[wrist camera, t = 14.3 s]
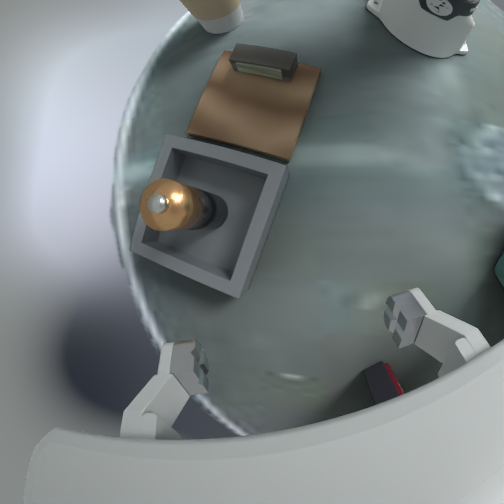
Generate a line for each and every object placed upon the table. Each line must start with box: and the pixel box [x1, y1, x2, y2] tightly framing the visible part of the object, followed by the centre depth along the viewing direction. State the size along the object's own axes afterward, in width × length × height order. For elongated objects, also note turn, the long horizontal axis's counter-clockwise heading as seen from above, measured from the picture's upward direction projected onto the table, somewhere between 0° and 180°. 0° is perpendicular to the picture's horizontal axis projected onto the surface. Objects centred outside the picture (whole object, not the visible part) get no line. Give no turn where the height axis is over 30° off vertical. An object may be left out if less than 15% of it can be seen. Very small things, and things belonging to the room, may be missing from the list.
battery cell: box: [140, 178, 228, 231], centre depth 27 cm, size 4×4×13 cm
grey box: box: [363, 362, 404, 405], centre depth 24 cm, size 11×4×15 cm, turn 28°
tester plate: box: [186, 44, 321, 162], centre depth 30 cm, size 14×14×4 cm
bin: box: [129, 134, 289, 299], centre depth 32 cm, size 15×15×5 cm
